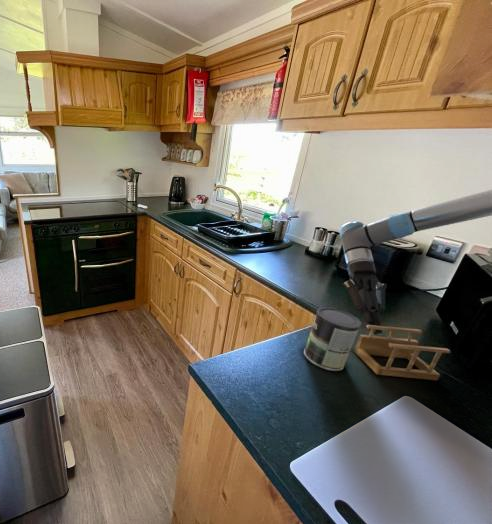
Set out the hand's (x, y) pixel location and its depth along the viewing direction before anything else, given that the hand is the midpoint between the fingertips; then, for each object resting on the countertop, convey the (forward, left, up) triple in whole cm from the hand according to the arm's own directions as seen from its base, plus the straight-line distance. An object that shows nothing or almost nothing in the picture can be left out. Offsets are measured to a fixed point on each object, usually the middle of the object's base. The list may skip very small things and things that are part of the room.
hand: (376, 333), depth 90 cm
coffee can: (+9, +20, -5) cm, 22 cm away
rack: (-6, +7, -5) cm, 10 cm away
